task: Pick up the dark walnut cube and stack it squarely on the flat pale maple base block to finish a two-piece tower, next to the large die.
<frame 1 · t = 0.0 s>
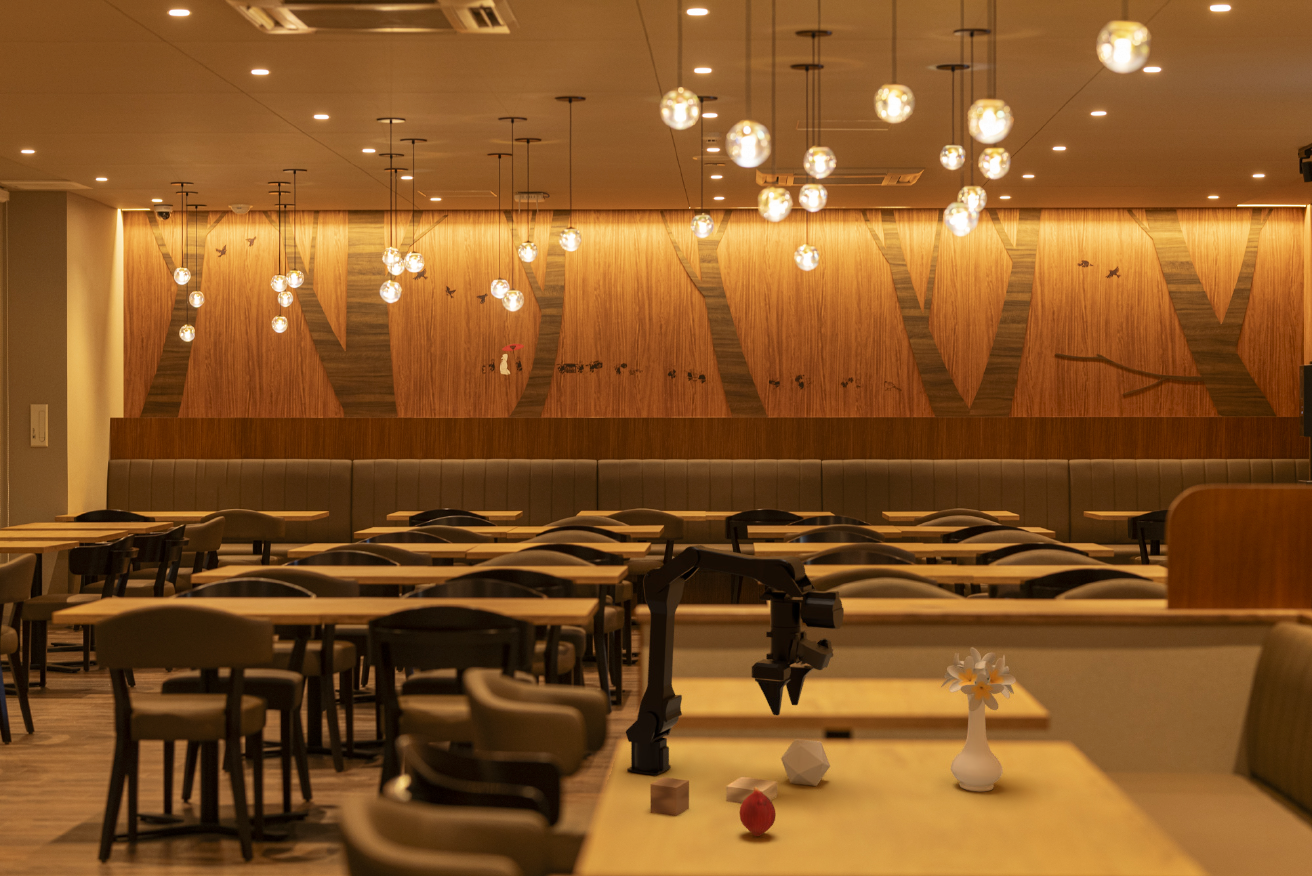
hand: (785, 710, 237), 15 cm above the table, tool pointing down, fingers open, 9 cm apart
onion: (757, 837, 211), on the table
flower vase: (979, 789, 238), on the table
die: (805, 783, 242), on the table
walnut cube: (669, 810, 225), on the table
maple base: (751, 800, 232), on the table
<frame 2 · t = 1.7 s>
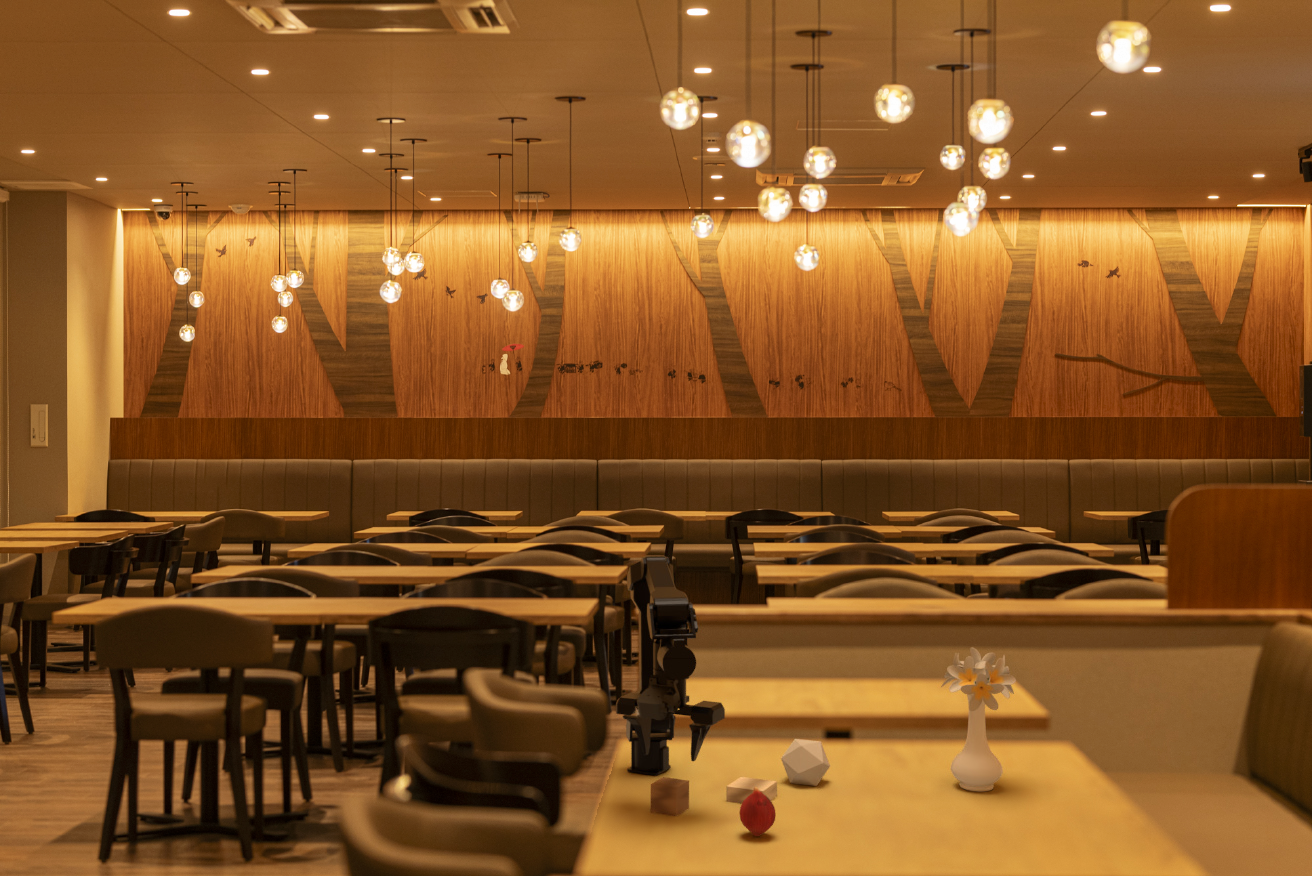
hand: (669, 757, 225), 9 cm above the table, tool pointing down, fingers open, 9 cm apart
nothing on the table moved.
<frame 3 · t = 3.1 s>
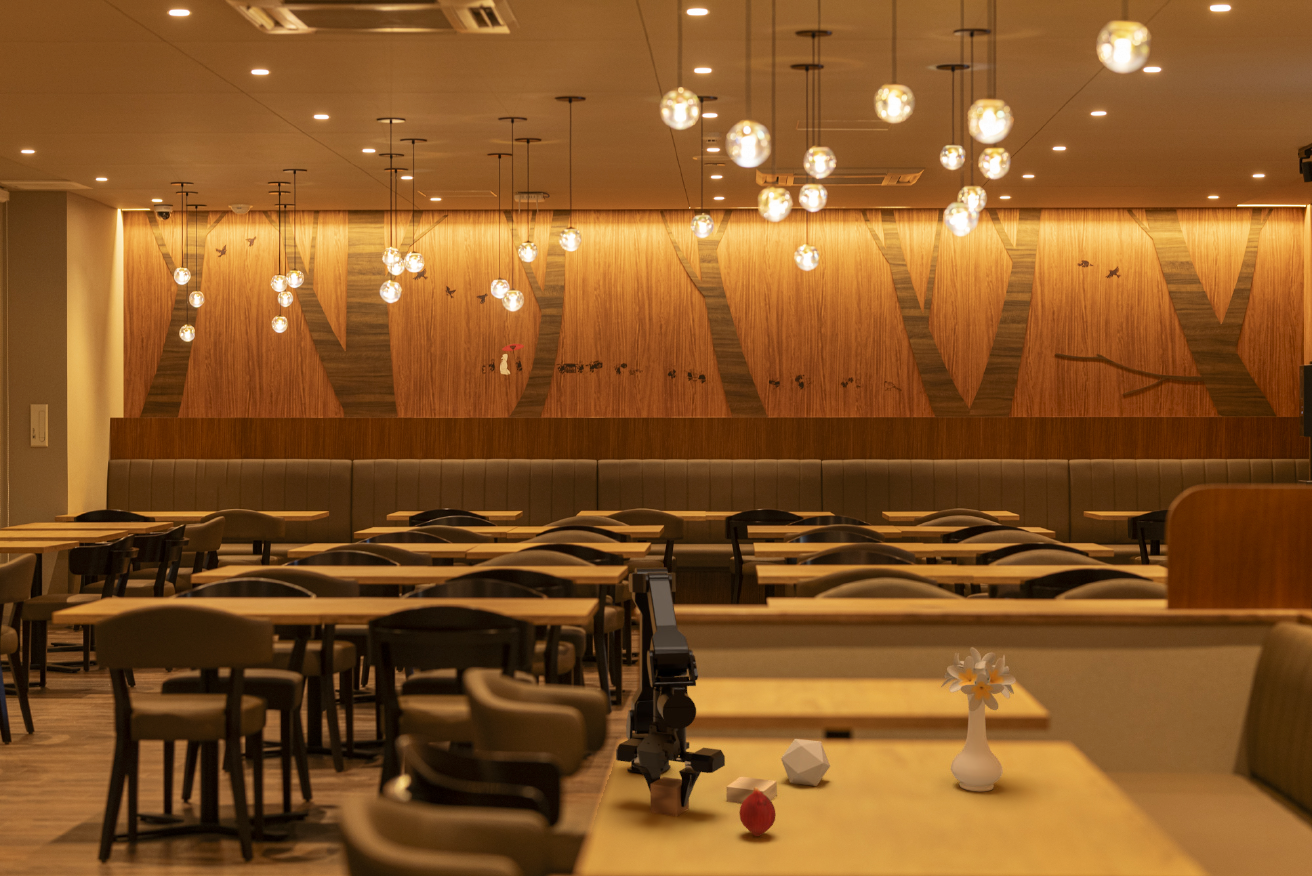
hand: (669, 804, 225), 1 cm above the table, tool pointing down, fingers closed on walnut cube, 5 cm apart
walnut cube: (669, 810, 225), on the table, touching gripper
everything else where it was.
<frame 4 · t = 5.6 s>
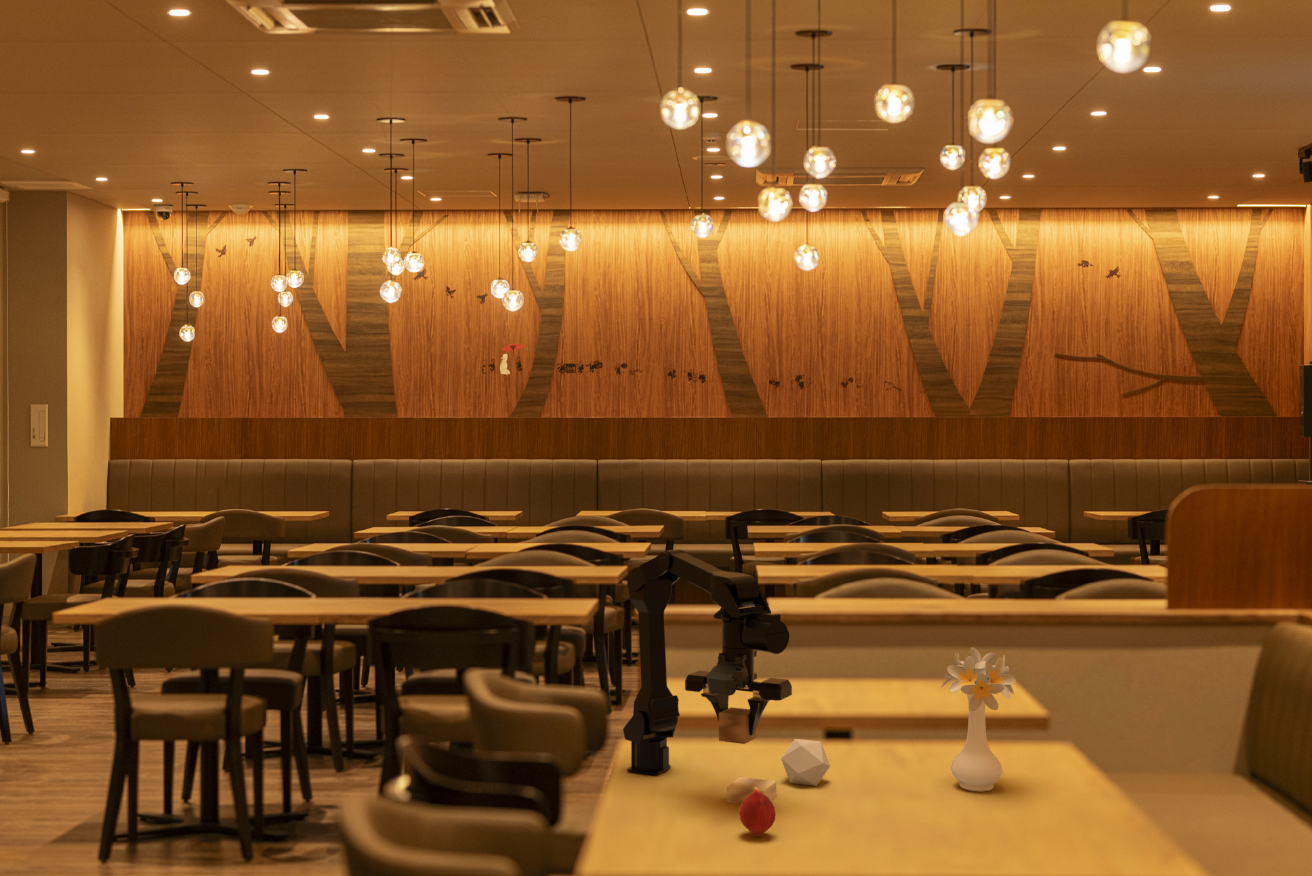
hand: (737, 733, 230), 12 cm above the table, tool pointing down, fingers closed on walnut cube, 5 cm apart
walnut cube: (737, 739, 230), point 11 cm above the table, touching gripper
everything else where it was.
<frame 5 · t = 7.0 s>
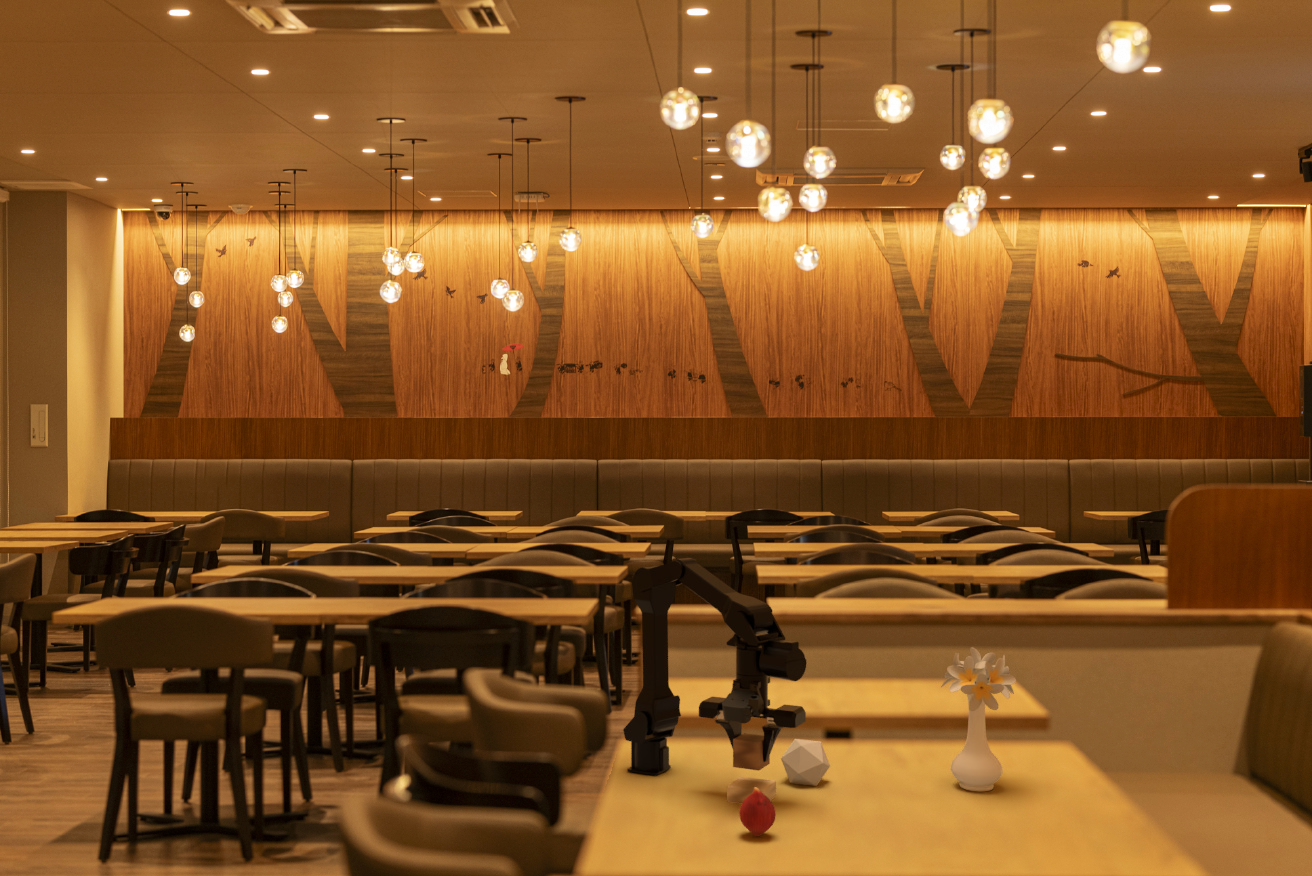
hand: (751, 759, 232), 7 cm above the table, tool pointing down, fingers closed on walnut cube, 5 cm apart
walnut cube: (751, 765, 232), point 6 cm above the table, touching gripper
everything else where it was.
when the fingers open (5 cm above the table, at t = 7.9 s): walnut cube drops 1 cm, point 3 cm above the table.
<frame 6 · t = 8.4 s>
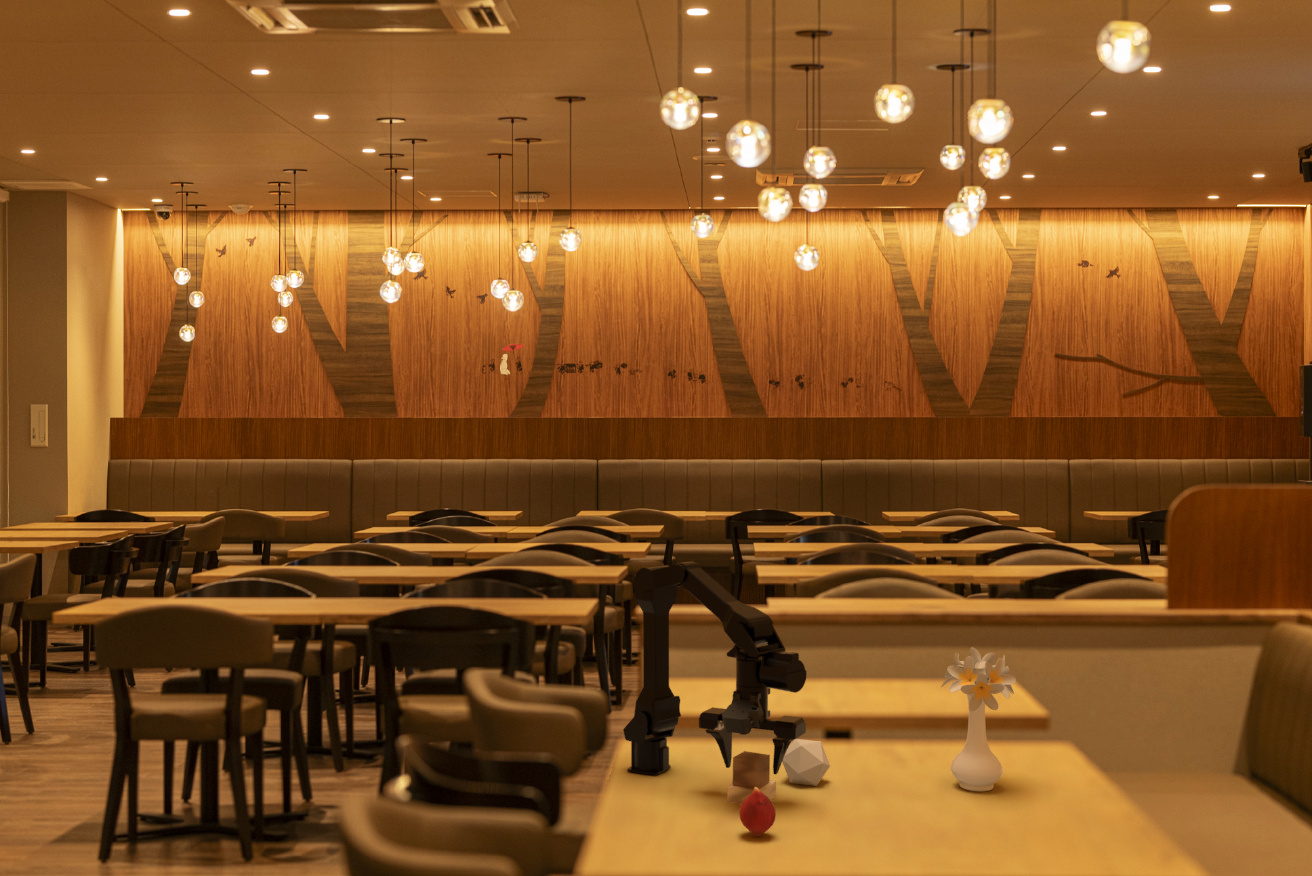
hand: (751, 770, 232), 5 cm above the table, tool pointing down, fingers open, 9 cm apart
walnut cube: (751, 783, 232), point 3 cm above the table
everything else where it was.
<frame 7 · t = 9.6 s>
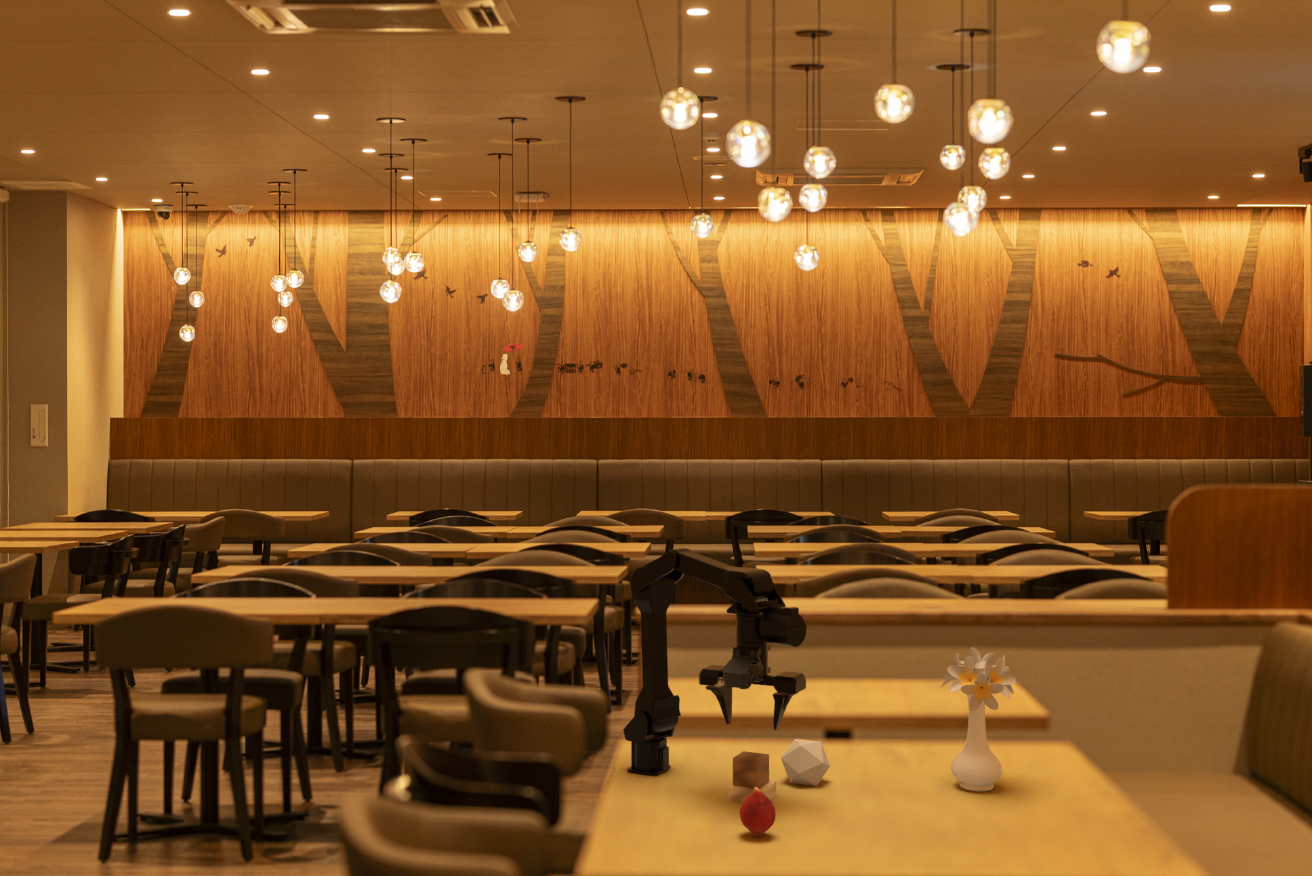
hand: (752, 726, 232), 13 cm above the table, tool pointing down, fingers open, 9 cm apart
walnut cube: (751, 783, 232), point 3 cm above the table, touching maple base
maple base: (752, 800, 232), on the table, touching walnut cube
everything else where it was.
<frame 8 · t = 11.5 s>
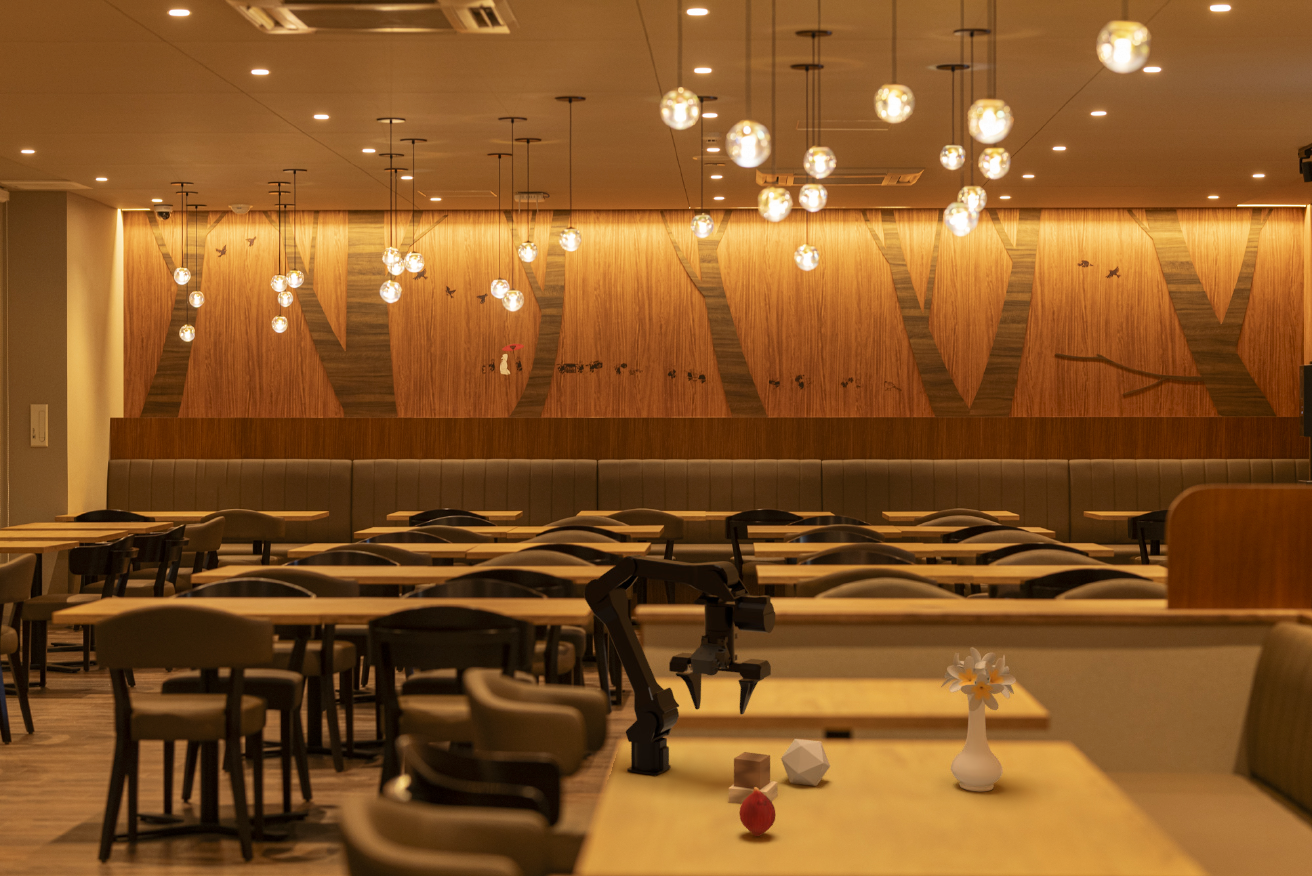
hand: (719, 711, 243), 13 cm above the table, tool pointing down, fingers open, 9 cm apart
nothing on the table moved.
at the end: walnut cube inside the target area on the maple base (0.4 cm from its centre), point 3.0 cm above the maple base's base; walnut cube tilted 0°; the gripper is holding nothing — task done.
